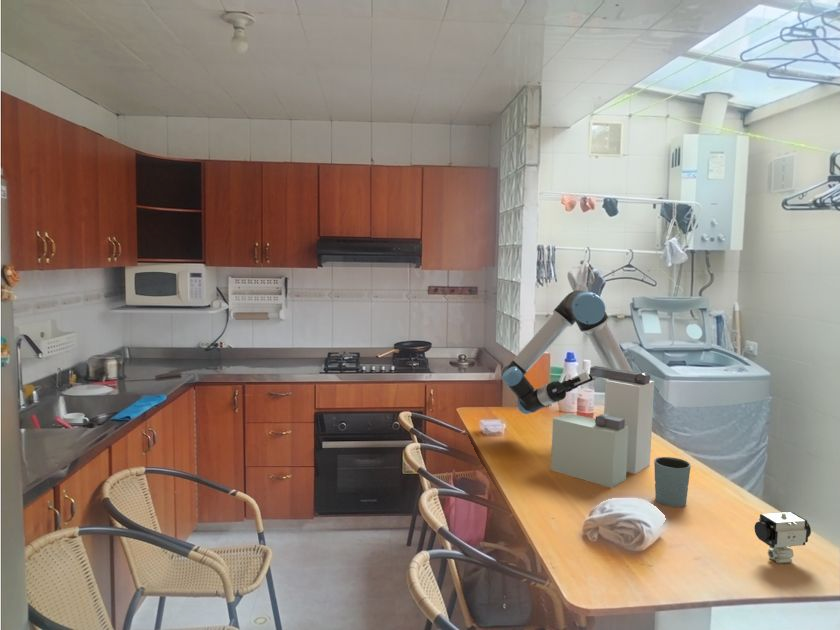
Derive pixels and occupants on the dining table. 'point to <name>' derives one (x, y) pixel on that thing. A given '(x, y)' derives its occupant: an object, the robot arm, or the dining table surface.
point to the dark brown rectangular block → (620, 375)
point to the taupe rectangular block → (633, 418)
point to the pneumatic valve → (782, 534)
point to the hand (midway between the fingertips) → (597, 372)
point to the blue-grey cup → (671, 481)
